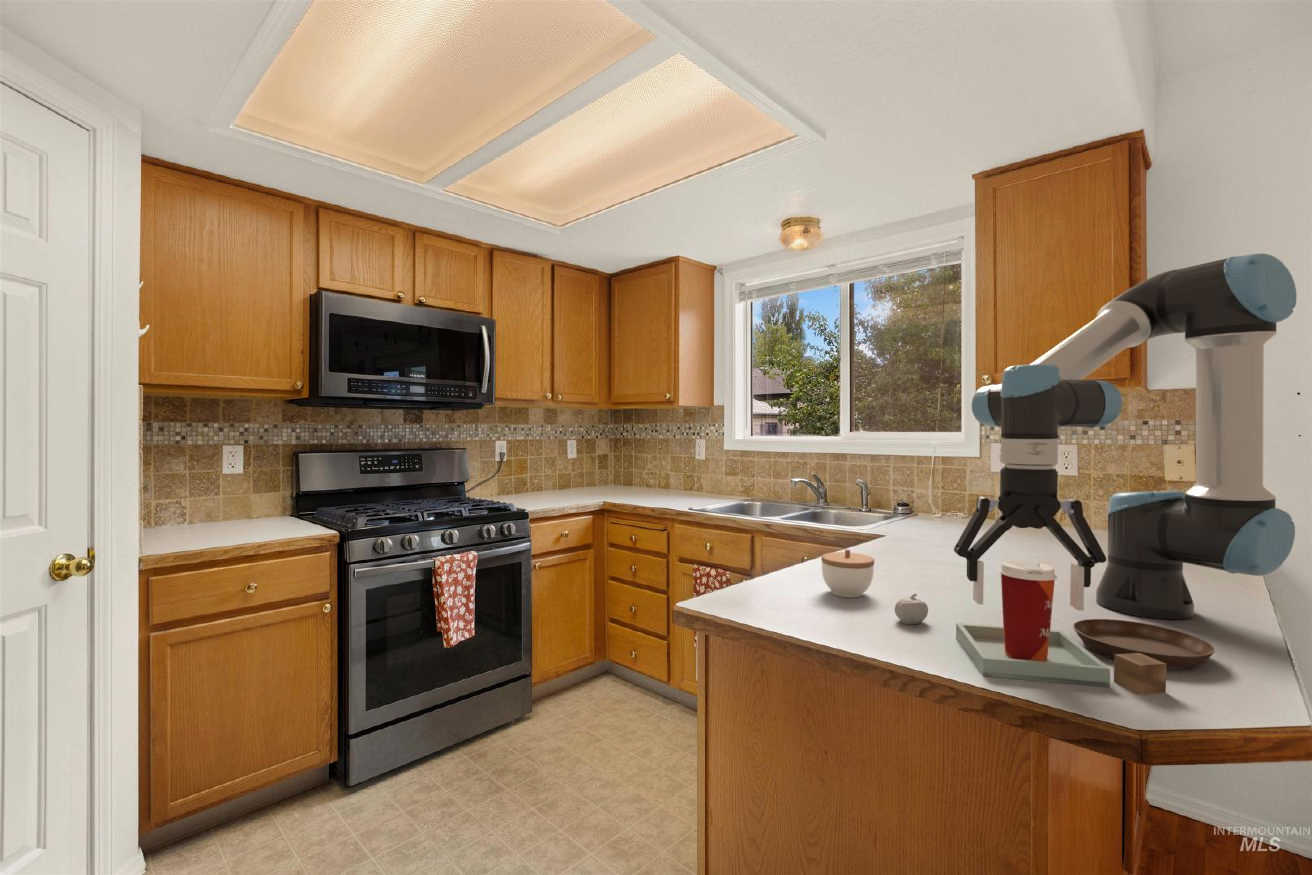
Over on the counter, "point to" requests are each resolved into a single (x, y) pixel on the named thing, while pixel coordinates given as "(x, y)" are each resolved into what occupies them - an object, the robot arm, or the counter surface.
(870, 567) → the lidded jar
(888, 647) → the counter surface
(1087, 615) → the counter surface
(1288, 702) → the counter surface
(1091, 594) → the counter surface
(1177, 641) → the plant saucer
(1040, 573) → the paper cup
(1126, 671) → the walnut block
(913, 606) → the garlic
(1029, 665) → the tray
